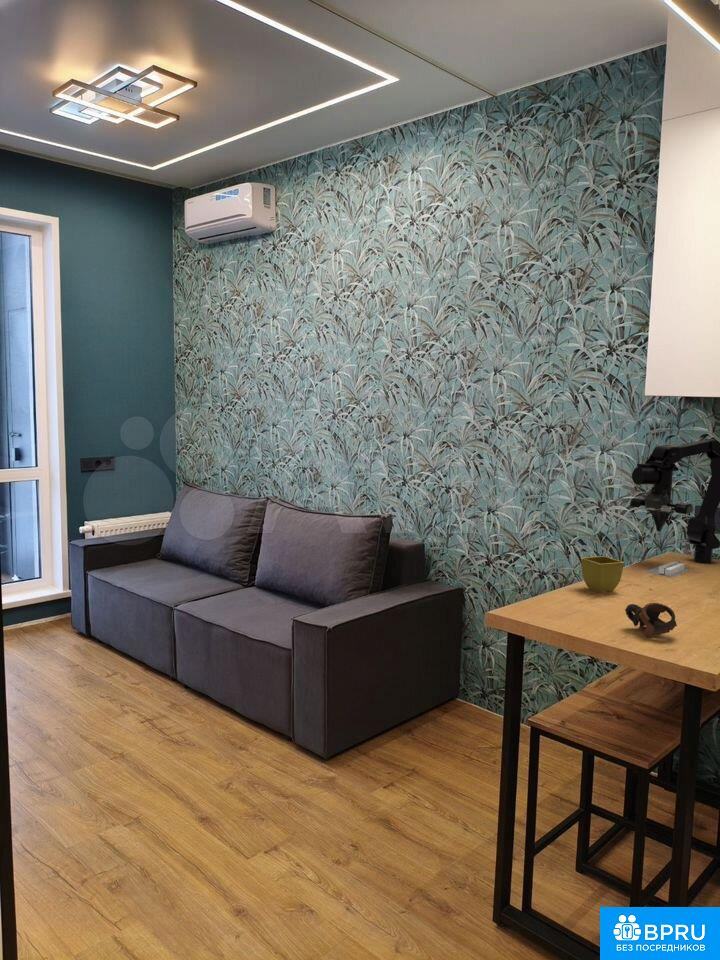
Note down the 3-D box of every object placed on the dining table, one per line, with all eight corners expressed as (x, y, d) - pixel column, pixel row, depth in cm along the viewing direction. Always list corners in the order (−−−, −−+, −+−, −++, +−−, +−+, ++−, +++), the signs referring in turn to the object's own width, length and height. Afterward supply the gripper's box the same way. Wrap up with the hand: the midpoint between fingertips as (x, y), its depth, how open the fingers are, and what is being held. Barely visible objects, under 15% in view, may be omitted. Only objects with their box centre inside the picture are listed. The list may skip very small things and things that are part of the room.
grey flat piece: (663, 567, 248) (664, 558, 248) (691, 572, 242) (691, 563, 241) (643, 575, 236) (644, 565, 236) (672, 580, 230) (672, 571, 230)
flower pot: (578, 587, 219) (580, 557, 218) (601, 585, 222) (604, 555, 221) (598, 595, 211) (600, 564, 210) (622, 592, 214) (625, 562, 213)
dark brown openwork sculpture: (676, 632, 182) (684, 608, 177) (663, 657, 176) (671, 634, 171) (627, 611, 187) (634, 587, 182) (613, 635, 181) (620, 611, 176)
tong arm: (674, 566, 244) (675, 560, 244) (680, 567, 243) (680, 561, 243) (658, 573, 234) (658, 566, 234) (664, 574, 233) (664, 567, 233)
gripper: (624, 483, 246) (621, 529, 248) (682, 489, 233) (678, 538, 235) (638, 480, 254) (635, 525, 256) (695, 486, 241) (691, 534, 243)
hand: (658, 531), depth 247 cm, fingers closed
